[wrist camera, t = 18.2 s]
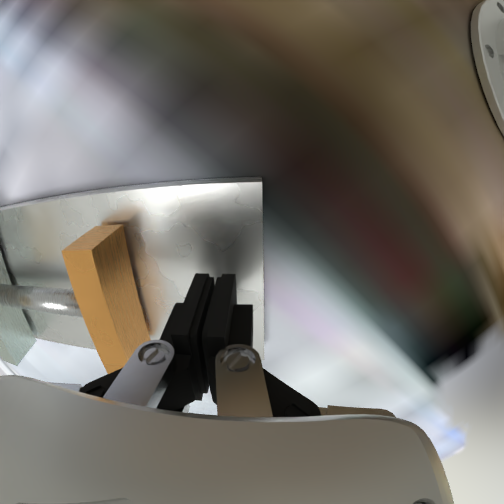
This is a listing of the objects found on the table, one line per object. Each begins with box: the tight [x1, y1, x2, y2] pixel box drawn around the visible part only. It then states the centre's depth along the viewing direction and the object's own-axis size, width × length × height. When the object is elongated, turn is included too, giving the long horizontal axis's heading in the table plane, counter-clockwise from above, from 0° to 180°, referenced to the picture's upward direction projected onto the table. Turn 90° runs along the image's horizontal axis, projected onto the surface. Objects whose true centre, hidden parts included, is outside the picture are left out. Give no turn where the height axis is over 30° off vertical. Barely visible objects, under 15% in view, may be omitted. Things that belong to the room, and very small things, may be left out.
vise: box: [0, 177, 264, 360], centre depth 13 cm, size 27×10×4 cm, turn 92°
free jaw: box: [0, 224, 151, 374], centre depth 12 cm, size 13×10×3 cm
